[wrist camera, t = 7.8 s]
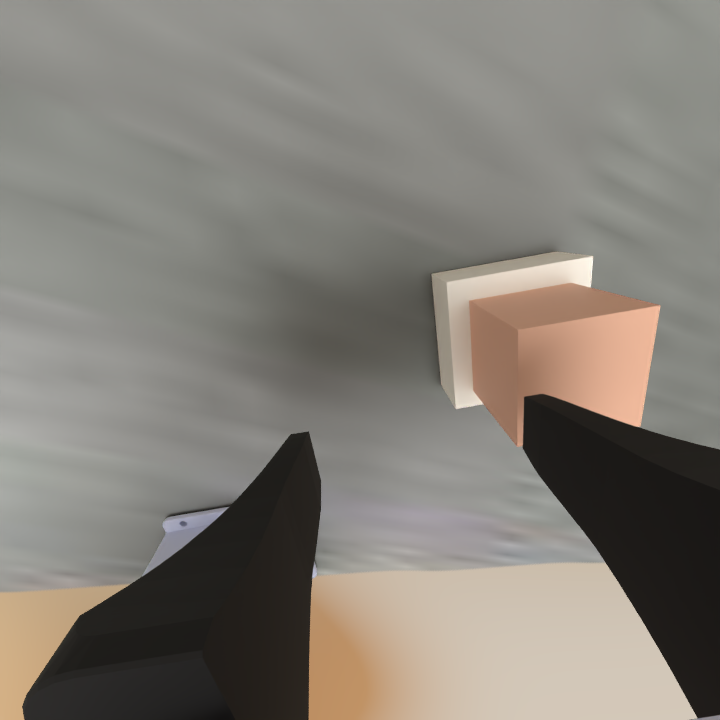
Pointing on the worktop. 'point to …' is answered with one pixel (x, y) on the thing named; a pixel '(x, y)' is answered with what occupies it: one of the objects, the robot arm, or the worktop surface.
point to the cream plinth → (482, 283)
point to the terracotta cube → (562, 351)
